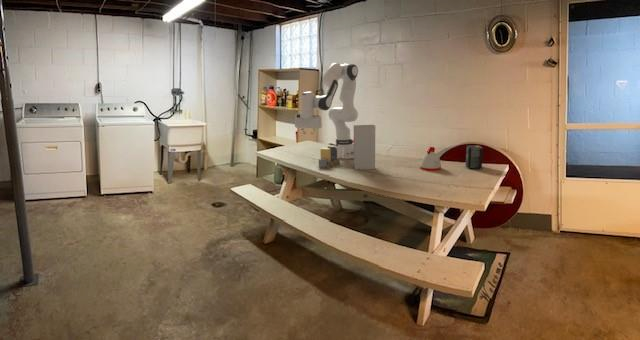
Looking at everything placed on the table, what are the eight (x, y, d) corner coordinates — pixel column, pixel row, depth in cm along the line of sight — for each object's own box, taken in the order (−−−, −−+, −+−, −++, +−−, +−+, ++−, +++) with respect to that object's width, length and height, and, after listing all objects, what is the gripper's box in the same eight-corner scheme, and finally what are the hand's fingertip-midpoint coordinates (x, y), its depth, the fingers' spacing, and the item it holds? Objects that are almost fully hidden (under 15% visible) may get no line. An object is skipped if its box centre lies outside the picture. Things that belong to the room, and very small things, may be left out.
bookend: (320, 166, 295) (320, 158, 293) (328, 167, 292) (328, 158, 291) (318, 167, 292) (318, 159, 291) (326, 168, 290) (326, 159, 288)
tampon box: (482, 169, 279) (483, 147, 276) (467, 169, 281) (468, 147, 278) (479, 165, 290) (480, 145, 287) (465, 165, 292) (466, 144, 288)
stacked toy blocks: (327, 162, 311) (326, 145, 308) (339, 163, 307) (339, 146, 304) (315, 168, 293) (314, 150, 290) (328, 169, 289) (328, 151, 286)
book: (323, 164, 303) (322, 147, 300) (330, 164, 301) (330, 148, 298) (320, 165, 299) (320, 148, 297) (328, 165, 297) (328, 149, 294)
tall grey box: (373, 167, 293) (374, 124, 287) (375, 169, 288) (375, 125, 281) (353, 167, 293) (353, 125, 286) (354, 169, 288) (354, 126, 281)
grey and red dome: (444, 168, 285) (445, 146, 282) (433, 171, 276) (434, 149, 273) (427, 165, 295) (428, 144, 292) (415, 168, 286) (416, 147, 283)
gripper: (322, 114, 296) (323, 134, 299) (297, 114, 304) (298, 133, 307) (319, 115, 290) (319, 135, 293) (293, 115, 299) (294, 134, 302)
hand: (308, 134), depth 301 cm, fingers open, 5 cm apart
